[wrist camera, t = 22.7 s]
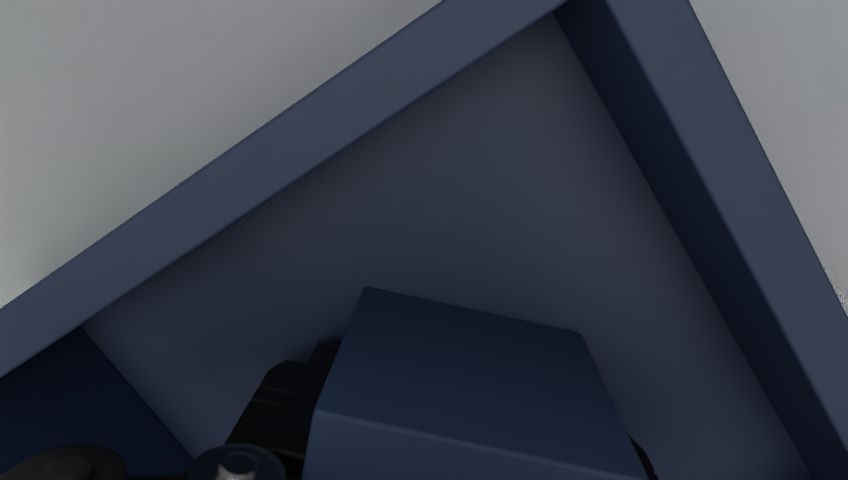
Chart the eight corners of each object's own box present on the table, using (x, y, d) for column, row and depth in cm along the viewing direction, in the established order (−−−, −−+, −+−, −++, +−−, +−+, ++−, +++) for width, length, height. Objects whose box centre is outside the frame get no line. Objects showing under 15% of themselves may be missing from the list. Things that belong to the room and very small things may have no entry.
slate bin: (40, 301, 13) (-138, 405, 9) (562, -59, 10) (626, -129, 6) (373, 688, 15) (345, 894, 12) (851, 476, 13) (1016, 649, 9)
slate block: (327, 470, 13) (266, 665, 9) (363, 285, 12) (312, 410, 8) (525, 512, 13) (558, 725, 9) (583, 333, 12) (652, 483, 8)
